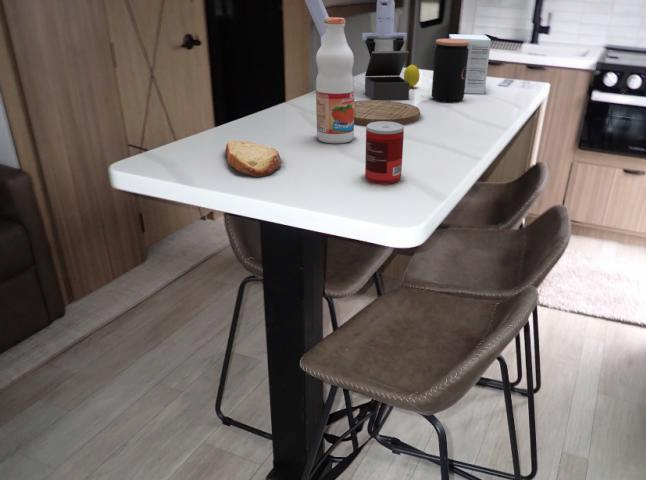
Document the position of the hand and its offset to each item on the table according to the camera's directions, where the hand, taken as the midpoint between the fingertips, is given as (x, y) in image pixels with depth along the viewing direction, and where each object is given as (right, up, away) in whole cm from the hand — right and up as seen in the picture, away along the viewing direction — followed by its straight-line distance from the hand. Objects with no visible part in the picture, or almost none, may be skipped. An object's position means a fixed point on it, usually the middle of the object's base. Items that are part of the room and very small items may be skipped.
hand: (383, 63), depth 197 cm
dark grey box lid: (+1, -2, -3) cm, 4 cm away
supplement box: (+29, -4, +14) cm, 33 cm away
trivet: (-3, -25, -23) cm, 34 cm away
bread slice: (-32, -48, -64) cm, 87 cm away
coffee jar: (+21, -13, -1) cm, 25 cm away
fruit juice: (-14, -38, -46) cm, 61 cm away
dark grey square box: (+1, -11, +1) cm, 11 cm away
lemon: (+10, -3, +15) cm, 19 cm away
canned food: (-2, -53, -72) cm, 89 cm away
